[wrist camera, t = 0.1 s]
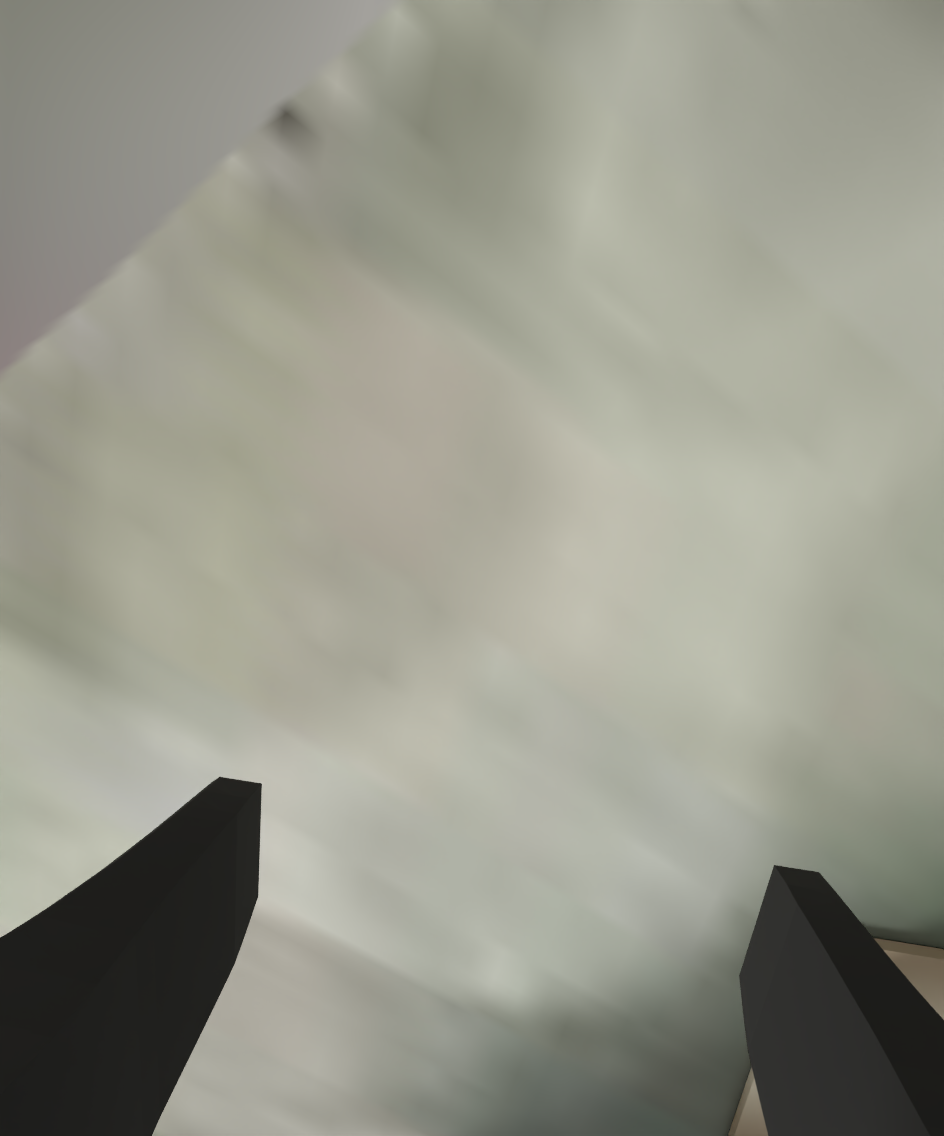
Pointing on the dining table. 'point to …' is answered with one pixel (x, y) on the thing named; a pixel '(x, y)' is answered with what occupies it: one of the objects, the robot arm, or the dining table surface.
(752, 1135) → the board
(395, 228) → the dining table surface
